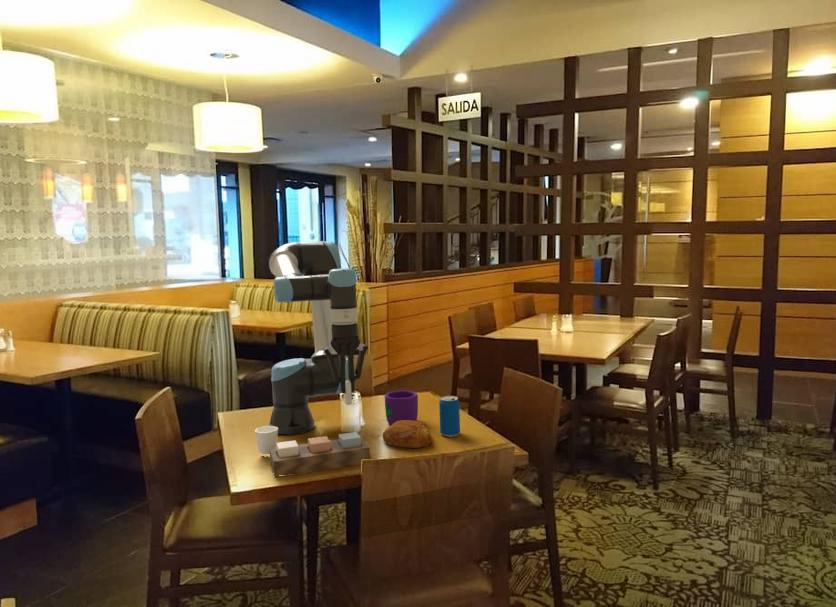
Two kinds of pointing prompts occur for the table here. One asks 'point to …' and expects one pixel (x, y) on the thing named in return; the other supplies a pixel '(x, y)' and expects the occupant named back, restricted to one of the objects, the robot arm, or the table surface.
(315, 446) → the terracotta key
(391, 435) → the pastry
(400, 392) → the mug
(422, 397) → the table surface
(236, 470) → the table surface
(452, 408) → the beverage can
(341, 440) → the slate key
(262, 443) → the cup
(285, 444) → the ivory key
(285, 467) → the key block
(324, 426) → the table surface
